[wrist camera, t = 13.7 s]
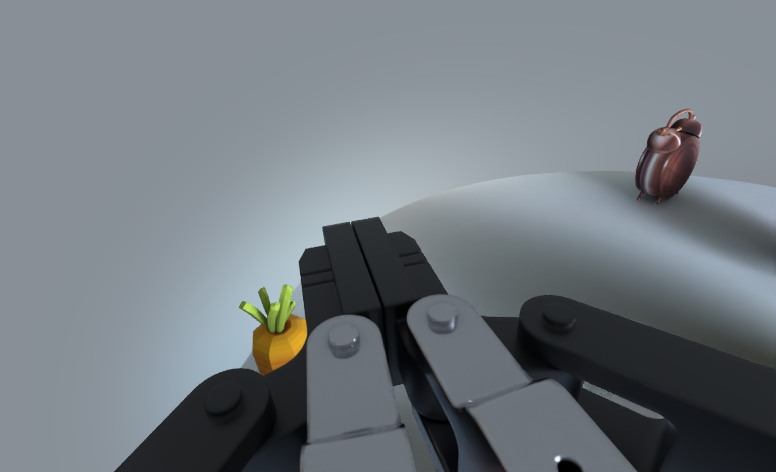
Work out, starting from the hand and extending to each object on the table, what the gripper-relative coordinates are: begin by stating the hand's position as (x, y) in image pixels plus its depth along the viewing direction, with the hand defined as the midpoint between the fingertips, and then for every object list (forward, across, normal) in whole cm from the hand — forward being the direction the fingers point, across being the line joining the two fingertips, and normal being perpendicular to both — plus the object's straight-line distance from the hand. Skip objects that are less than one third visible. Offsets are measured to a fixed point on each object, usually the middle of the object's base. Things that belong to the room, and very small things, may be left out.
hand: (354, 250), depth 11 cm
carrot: (+17, -5, -28) cm, 33 cm away
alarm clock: (+41, +58, -28) cm, 77 cm away
